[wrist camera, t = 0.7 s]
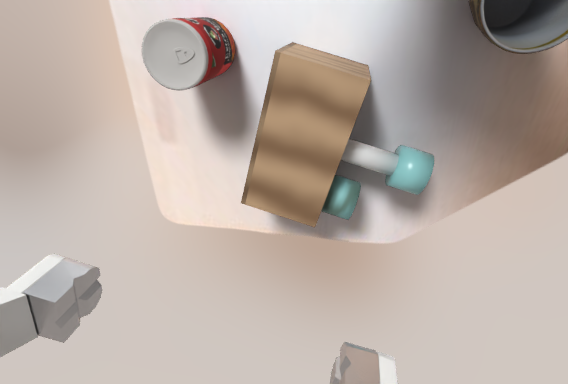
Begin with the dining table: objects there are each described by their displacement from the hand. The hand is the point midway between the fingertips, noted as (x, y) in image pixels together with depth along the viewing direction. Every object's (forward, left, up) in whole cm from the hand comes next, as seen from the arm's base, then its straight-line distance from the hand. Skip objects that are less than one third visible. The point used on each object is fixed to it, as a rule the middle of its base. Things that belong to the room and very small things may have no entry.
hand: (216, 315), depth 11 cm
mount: (+6, +4, -42) cm, 42 cm away
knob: (+3, +11, -38) cm, 40 cm away
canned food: (+6, -16, -42) cm, 45 cm away
